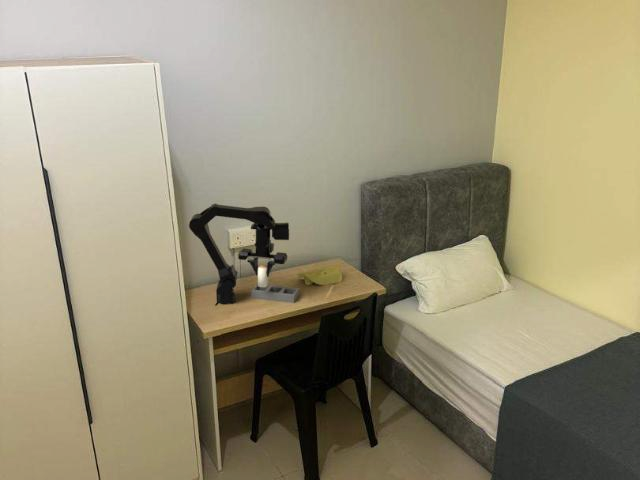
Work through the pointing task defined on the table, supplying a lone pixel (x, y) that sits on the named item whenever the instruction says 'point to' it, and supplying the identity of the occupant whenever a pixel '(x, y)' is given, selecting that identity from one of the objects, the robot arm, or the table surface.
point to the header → (275, 293)
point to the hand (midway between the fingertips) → (262, 276)
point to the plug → (262, 276)
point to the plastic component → (322, 276)
